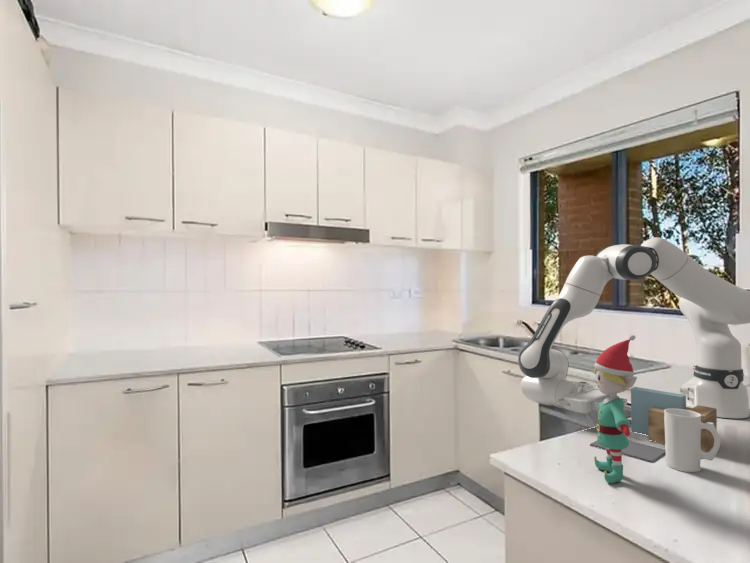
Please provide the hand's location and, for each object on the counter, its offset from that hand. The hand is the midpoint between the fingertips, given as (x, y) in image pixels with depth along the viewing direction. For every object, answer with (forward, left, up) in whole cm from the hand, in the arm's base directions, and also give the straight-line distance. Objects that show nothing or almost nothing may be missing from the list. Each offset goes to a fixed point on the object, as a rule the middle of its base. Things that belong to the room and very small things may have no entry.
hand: (619, 405), depth 125 cm
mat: (+17, -5, -6) cm, 18 cm away
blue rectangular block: (+7, +7, -6) cm, 12 cm away
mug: (+28, +4, -7) cm, 29 cm away
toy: (+34, -14, -7) cm, 37 cm away
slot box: (+11, +11, -6) cm, 16 cm away
